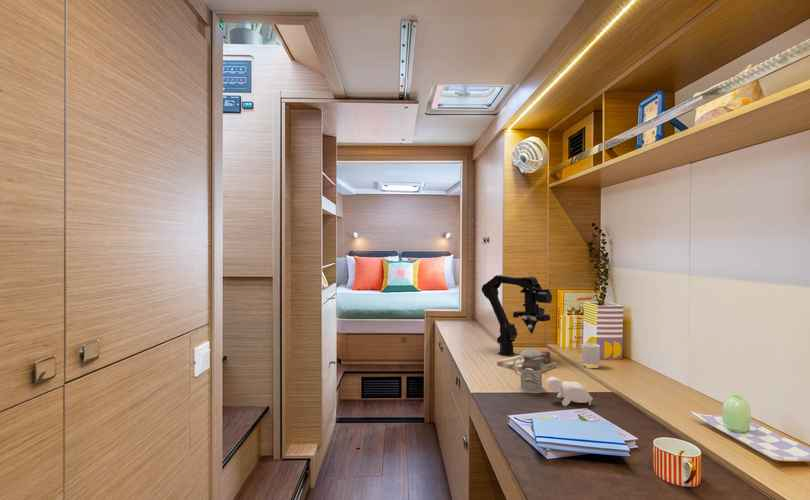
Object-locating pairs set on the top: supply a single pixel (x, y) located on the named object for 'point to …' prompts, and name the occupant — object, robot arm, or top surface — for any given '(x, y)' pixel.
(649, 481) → the top surface
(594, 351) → the white cup
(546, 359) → the walnut leg
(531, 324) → the robot arm
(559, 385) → the white animal figurine
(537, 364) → the french press
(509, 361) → the stool seat
